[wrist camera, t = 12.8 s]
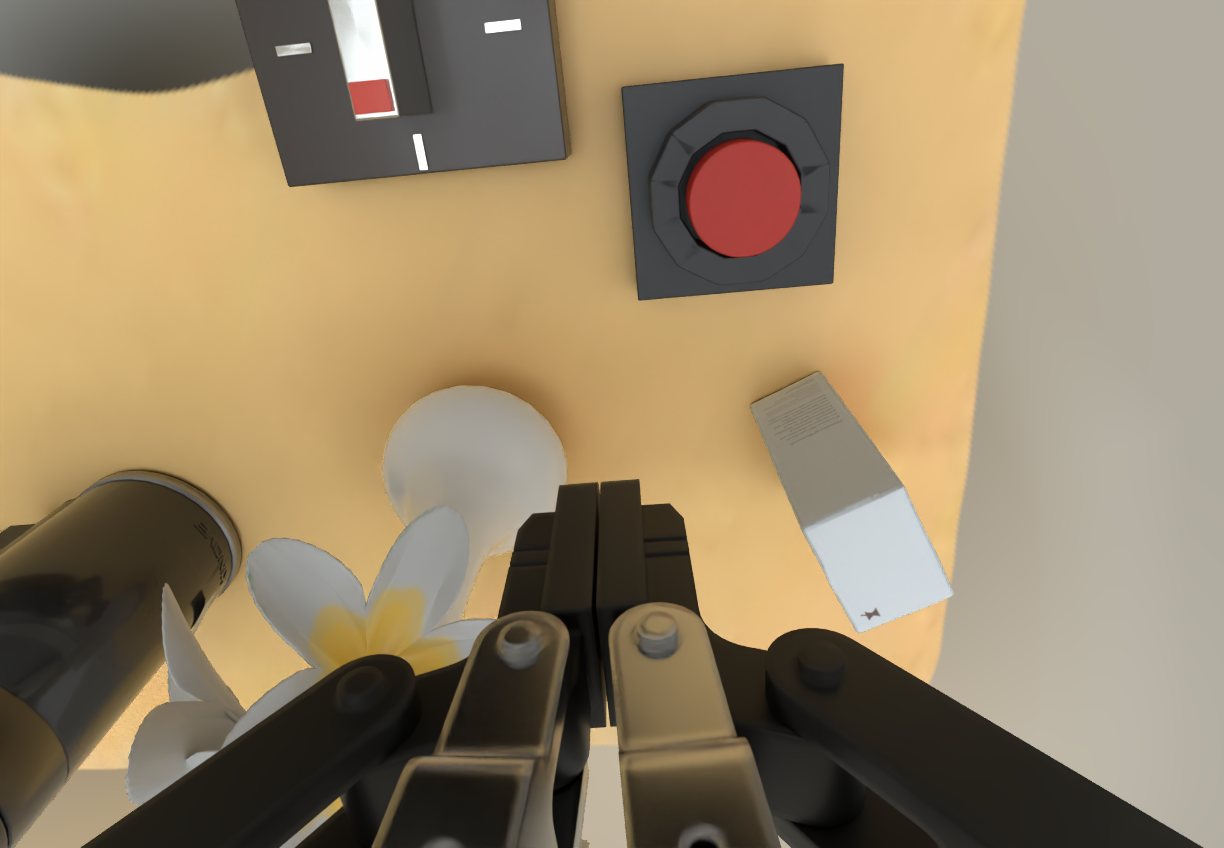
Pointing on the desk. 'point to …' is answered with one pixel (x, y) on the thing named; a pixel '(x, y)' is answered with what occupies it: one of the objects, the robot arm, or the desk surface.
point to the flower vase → (402, 593)
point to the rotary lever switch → (456, 81)
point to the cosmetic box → (850, 505)
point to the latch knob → (380, 58)
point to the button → (743, 197)
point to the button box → (695, 123)
